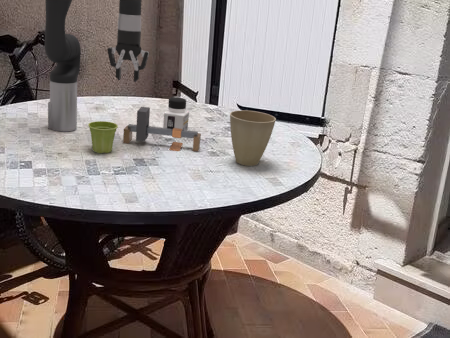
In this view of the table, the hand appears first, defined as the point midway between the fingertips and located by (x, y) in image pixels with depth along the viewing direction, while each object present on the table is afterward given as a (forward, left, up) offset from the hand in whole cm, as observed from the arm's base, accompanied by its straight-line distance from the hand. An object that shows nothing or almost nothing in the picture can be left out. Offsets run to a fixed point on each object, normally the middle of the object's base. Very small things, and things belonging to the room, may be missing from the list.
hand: (127, 80), depth 187 cm
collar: (+6, 0, -20) cm, 21 cm away
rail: (+13, 0, -21) cm, 25 cm away
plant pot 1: (-4, -13, -22) cm, 25 cm away
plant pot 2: (+43, -8, -22) cm, 49 cm away
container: (+15, +19, -22) cm, 32 cm away
